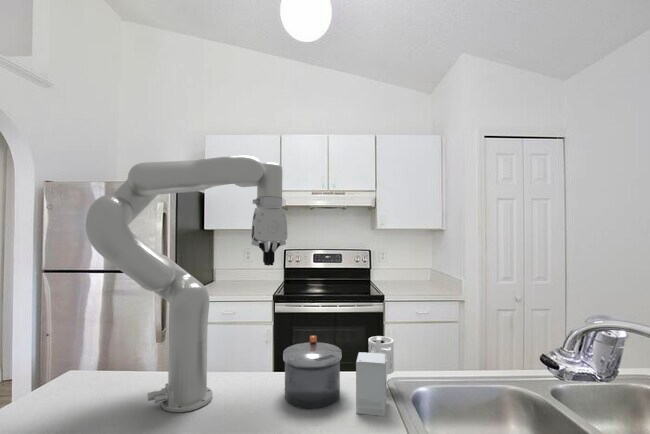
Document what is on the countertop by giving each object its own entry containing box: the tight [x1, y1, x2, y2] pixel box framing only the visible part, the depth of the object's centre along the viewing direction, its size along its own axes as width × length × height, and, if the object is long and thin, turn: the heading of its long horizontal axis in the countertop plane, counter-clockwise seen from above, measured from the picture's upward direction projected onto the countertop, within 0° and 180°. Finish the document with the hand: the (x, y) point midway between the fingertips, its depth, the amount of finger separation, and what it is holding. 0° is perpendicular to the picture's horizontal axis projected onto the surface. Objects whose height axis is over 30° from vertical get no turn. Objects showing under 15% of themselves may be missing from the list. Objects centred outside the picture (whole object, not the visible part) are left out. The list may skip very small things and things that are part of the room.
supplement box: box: [355, 351, 387, 417], centre depth 86 cm, size 7×7×13 cm
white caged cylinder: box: [368, 335, 395, 392], centre depth 96 cm, size 7×7×15 cm
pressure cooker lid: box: [282, 334, 343, 368], centre depth 93 cm, size 16×16×4 cm
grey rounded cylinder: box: [284, 360, 341, 411], centre depth 93 cm, size 15×15×10 cm
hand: (268, 264), depth 102 cm, fingers closed
